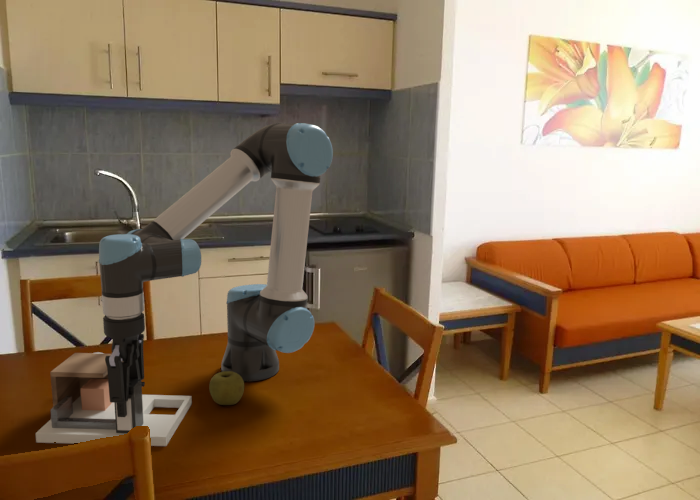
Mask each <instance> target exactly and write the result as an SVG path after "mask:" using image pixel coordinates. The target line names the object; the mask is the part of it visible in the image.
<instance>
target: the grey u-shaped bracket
mask: <svg viewBox="0 0 700 500" xmlns="http://www.w3.org/2000/svg"><path fill="white" fill-rule="evenodd" d="M141 382H142V380H141V379H133V378H129V398H130V399H131V410H132V428H134V427H136V426H142V425H143V404H142V395H143V390H142V388H143V387H142V384H141ZM114 404H115V419H92V418H69V417H70V416H71V415H72V414H73V405H72V396H65V397H64V398H63V399H62V400H61V401H60V402H59V403H57V404H56V405H55V406H54V407H53V406H52V408H50V419H51V422H52V428H75V429H109V430H116V433H128V432H129V431H130V430H117V413H116V403H115V402H114Z"/></svg>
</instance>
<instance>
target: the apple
mask: <svg viewBox="0 0 700 500" xmlns="http://www.w3.org/2000/svg"><path fill="white" fill-rule="evenodd" d="M208 390H209V393H210V397H211V398H212V400H213V401H214V403H216V404H218V405H221V406H222V405H223V406H232V405H236V404H237V403H238V402H239V401H240V400H241V399H242V397H243V395H244V392H245V381H243V379H242V377H241V376H240V375H239V374H237V373H235V372H232V371H224V372H222V371H221V372H217V373H215V374H214V375H213V376H212V377H211V379H210V381H209V389H208Z"/></svg>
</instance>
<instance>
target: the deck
mask: <svg viewBox="0 0 700 500" xmlns="http://www.w3.org/2000/svg"><path fill="white" fill-rule="evenodd" d="M192 399H193V398H192V395H169V394H168V395H166V394H165V395H164V394H142V404H143V425H142V426H148V427H149V429H150V438H151V446H150V447H153V446H154V447H167V446H168V444H169V443H170V441H171V438H172V437H173V435H174V434H175V433H176V430H177V429H178V427H179V426H180V424H181V422H182V421H183V420H184V418H185V417H186V415H187V413H188V411H189V409H190V408H191V407H192V404H193V401H192ZM72 405H73V414H72V415H71V416H70V417H69V418H92V419H115V404H114V402H112V404H111V405H110V406H109V407H108V408H107V409H106V410H105V411H103V410H82V402H81V396H80V397H79V398H78V399H77V400H75V401H74V402H73V403H72ZM154 408H169V409H170V408H176V409H178V410H177V411H176V412H175V414H159V413H158V414H155V413H151V412H152V411H153V410H154ZM124 434H127V433H116V430H109V429H75V428H52V422H51V418H50V420H48V421H47V422H46V423H45V424H44V425H43V426H41V428H40V429H38V430H37V432H35V443H37V444H38V443H43V444H44V443H45V444H72V445H73V444H74V443H80V442H86V441H90V440H95V439H100V438H106V437H113V436H119V435H124ZM54 442H56V443H54Z"/></svg>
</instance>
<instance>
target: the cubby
mask: <svg viewBox="0 0 700 500" xmlns="http://www.w3.org/2000/svg"><path fill="white" fill-rule="evenodd" d="M99 353H100V352H93V353H92V352H89V353H88V352H74V353H73V354H72V355H70V356H69V357H68V358H66V359H65V360H63V362H61V363H60V364H58V365H57V366H56V367H55V368H53V369H52V370H51V371H50V383H51V395H52V408H53V407H54V406H55V405H56V404H57V403H59V402H60V401H61V400H62V399H63V398H64V397H65V396H72V403H73V402H74V401H75V400H77V399H78V398H79V397H80V396H81V388H82V387H83V386H84V385H85V384H86V383H87V382H88V381H89V380H90V379H108V372H107V365H106V362H105V357H106V356H111V354H112V353H104V354H99ZM122 362H124V361H122Z"/></svg>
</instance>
